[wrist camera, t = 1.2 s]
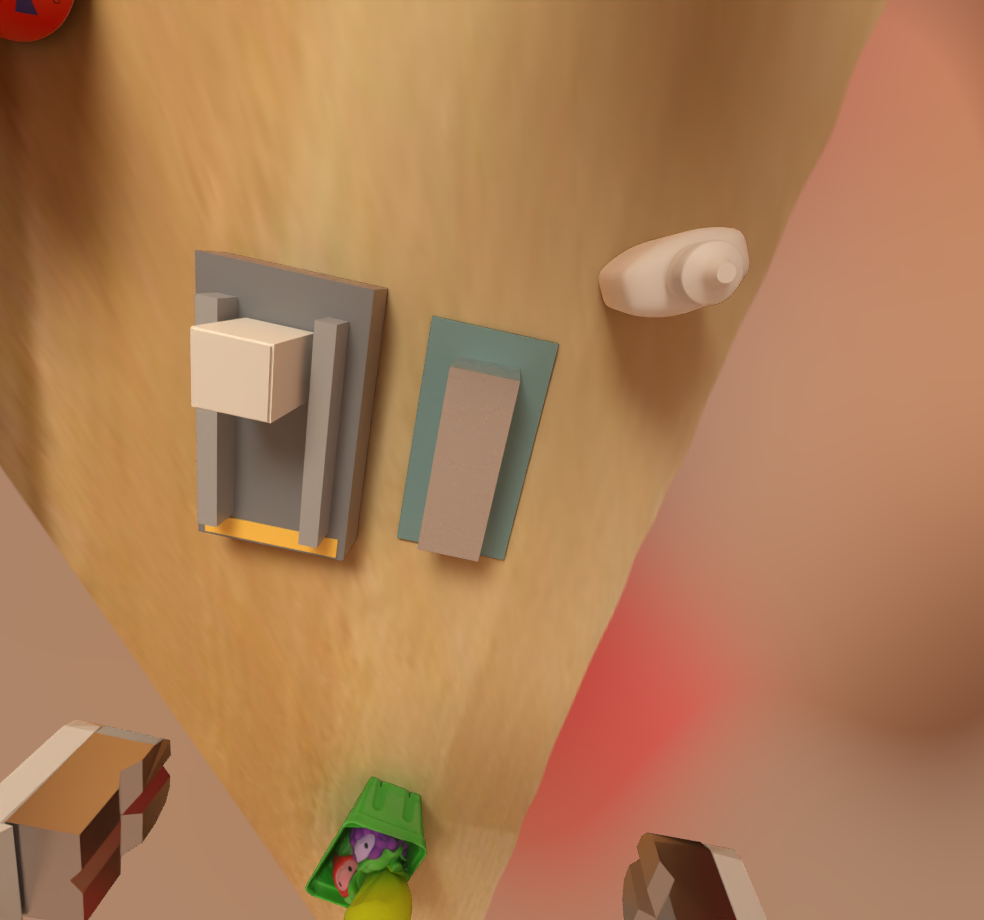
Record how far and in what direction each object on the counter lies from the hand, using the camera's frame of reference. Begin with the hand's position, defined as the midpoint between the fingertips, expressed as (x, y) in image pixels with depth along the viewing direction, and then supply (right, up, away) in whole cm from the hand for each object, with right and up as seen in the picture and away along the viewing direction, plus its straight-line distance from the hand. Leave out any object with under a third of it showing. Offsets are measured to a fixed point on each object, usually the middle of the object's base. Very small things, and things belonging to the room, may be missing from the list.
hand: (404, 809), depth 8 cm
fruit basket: (-9, -28, +39) cm, 49 cm away
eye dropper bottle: (+11, +17, +21) cm, 29 cm away
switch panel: (-12, +9, +25) cm, 29 cm away
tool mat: (0, +7, +25) cm, 26 cm away
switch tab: (-11, +12, +20) cm, 26 cm away
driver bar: (0, +7, +25) cm, 26 cm away
